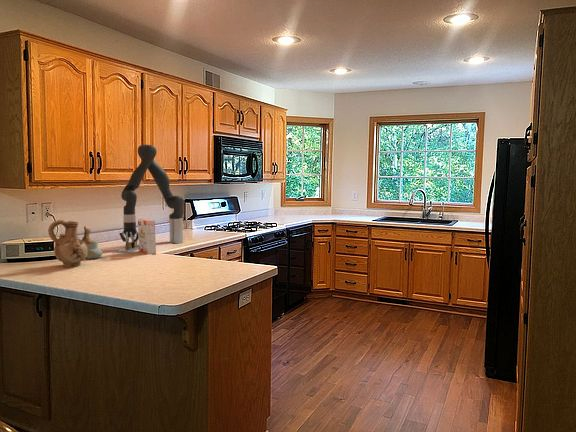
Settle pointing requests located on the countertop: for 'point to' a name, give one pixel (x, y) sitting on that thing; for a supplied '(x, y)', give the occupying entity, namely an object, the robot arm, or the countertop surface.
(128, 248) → the turner
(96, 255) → the air freshener
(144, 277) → the countertop surface
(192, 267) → the countertop surface
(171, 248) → the countertop surface
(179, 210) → the robot arm
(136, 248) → the mat
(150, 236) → the cracker box
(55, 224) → the ceramic vessel
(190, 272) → the countertop surface
